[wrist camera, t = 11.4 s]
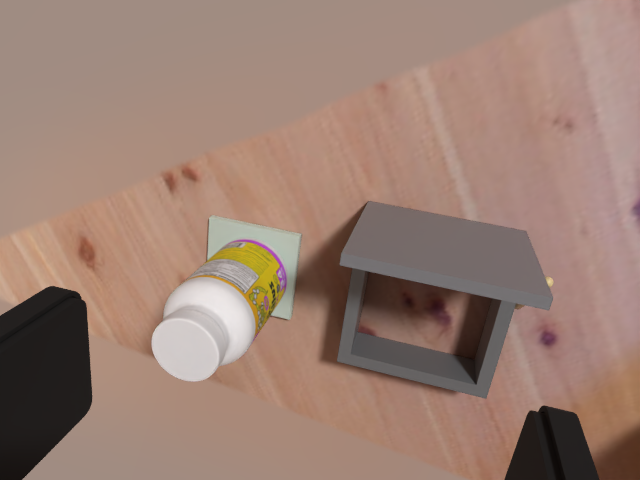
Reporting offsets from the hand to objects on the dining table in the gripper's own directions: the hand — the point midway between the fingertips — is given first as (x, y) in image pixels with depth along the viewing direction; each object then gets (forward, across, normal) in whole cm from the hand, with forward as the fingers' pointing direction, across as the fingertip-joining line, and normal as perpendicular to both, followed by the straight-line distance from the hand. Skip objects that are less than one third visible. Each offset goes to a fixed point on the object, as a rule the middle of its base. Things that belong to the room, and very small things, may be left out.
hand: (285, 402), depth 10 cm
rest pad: (+30, +11, +13) cm, 35 cm away
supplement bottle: (+30, +11, +13) cm, 34 cm away
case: (+30, -4, +12) cm, 33 cm away
